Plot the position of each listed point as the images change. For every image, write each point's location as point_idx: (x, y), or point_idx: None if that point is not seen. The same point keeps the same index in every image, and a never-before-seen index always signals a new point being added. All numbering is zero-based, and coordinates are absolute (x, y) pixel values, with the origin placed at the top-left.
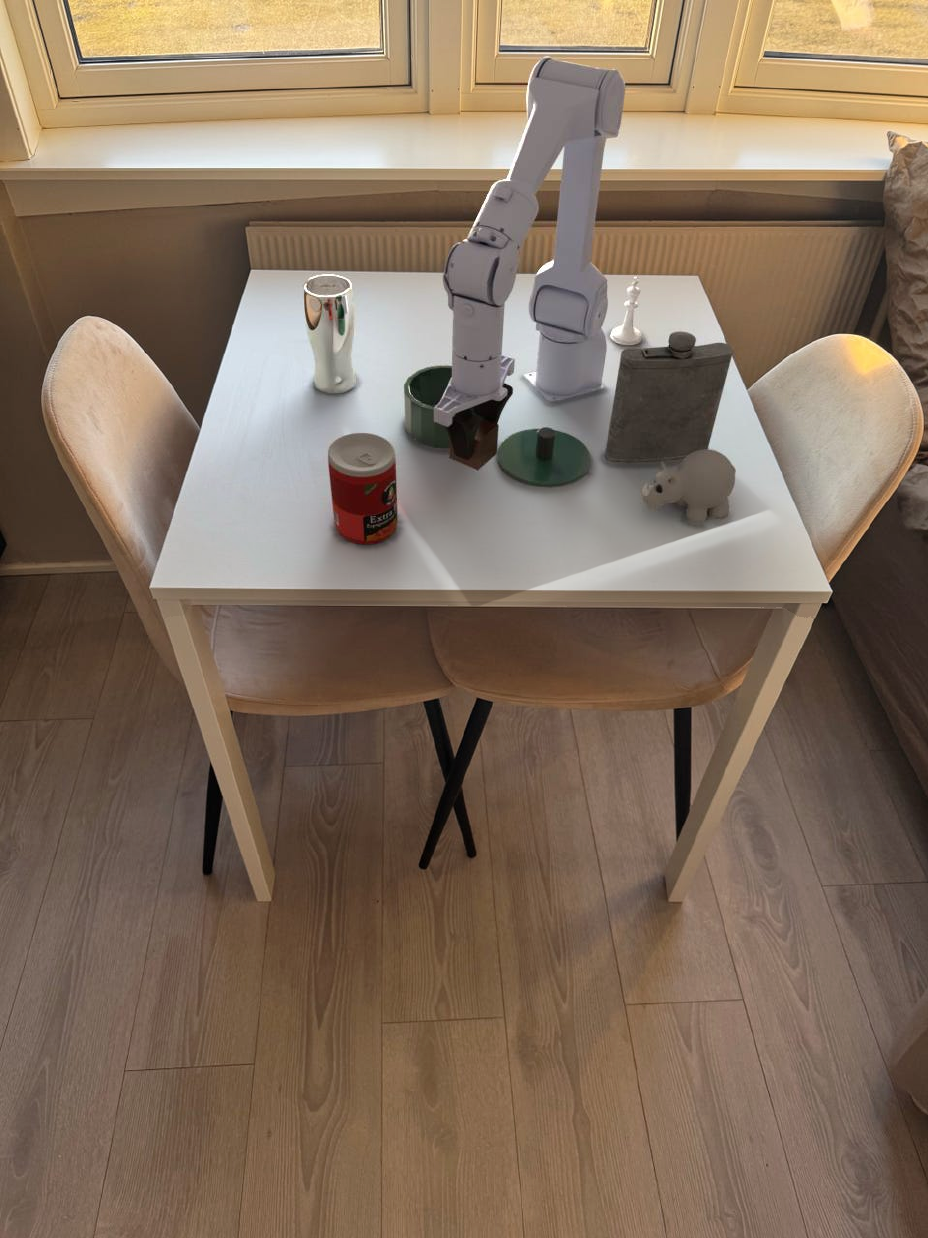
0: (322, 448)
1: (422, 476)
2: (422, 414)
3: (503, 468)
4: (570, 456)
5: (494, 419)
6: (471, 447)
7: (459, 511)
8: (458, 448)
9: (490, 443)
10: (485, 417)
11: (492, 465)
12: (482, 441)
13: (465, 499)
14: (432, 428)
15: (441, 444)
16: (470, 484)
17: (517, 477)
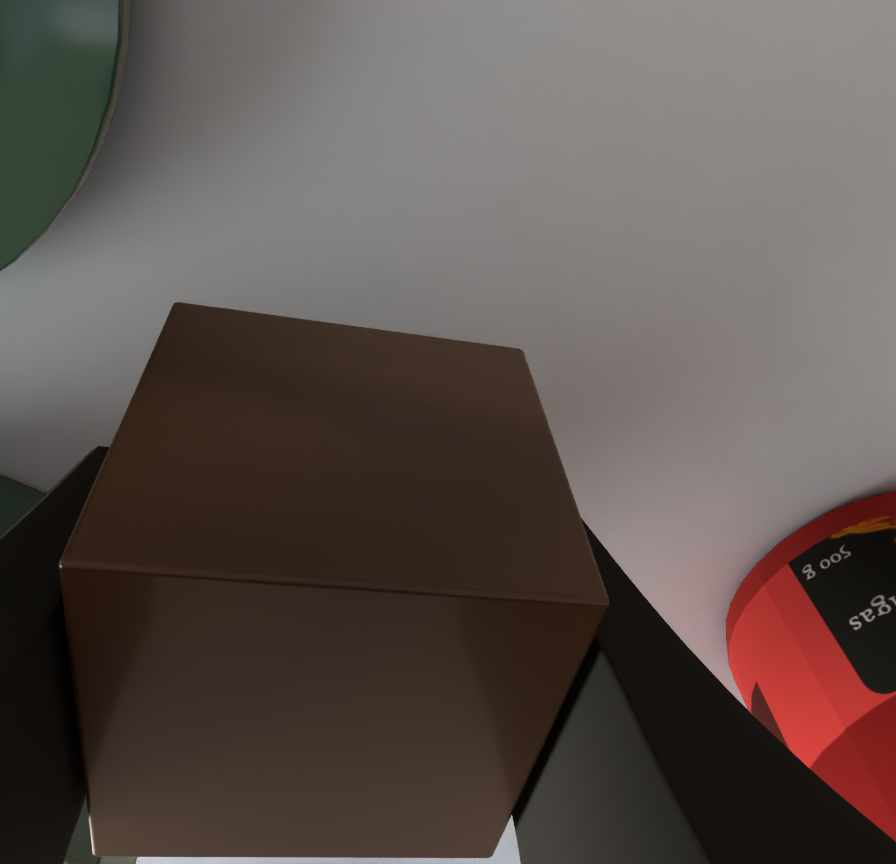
0: (419, 859)
1: None
2: (133, 862)
3: (81, 181)
4: None
5: (27, 663)
6: (613, 588)
7: (646, 273)
8: None
9: (312, 441)
10: (55, 739)
11: (58, 278)
12: (523, 559)
13: (513, 289)
14: None
15: None
16: (348, 323)
17: (124, 4)
